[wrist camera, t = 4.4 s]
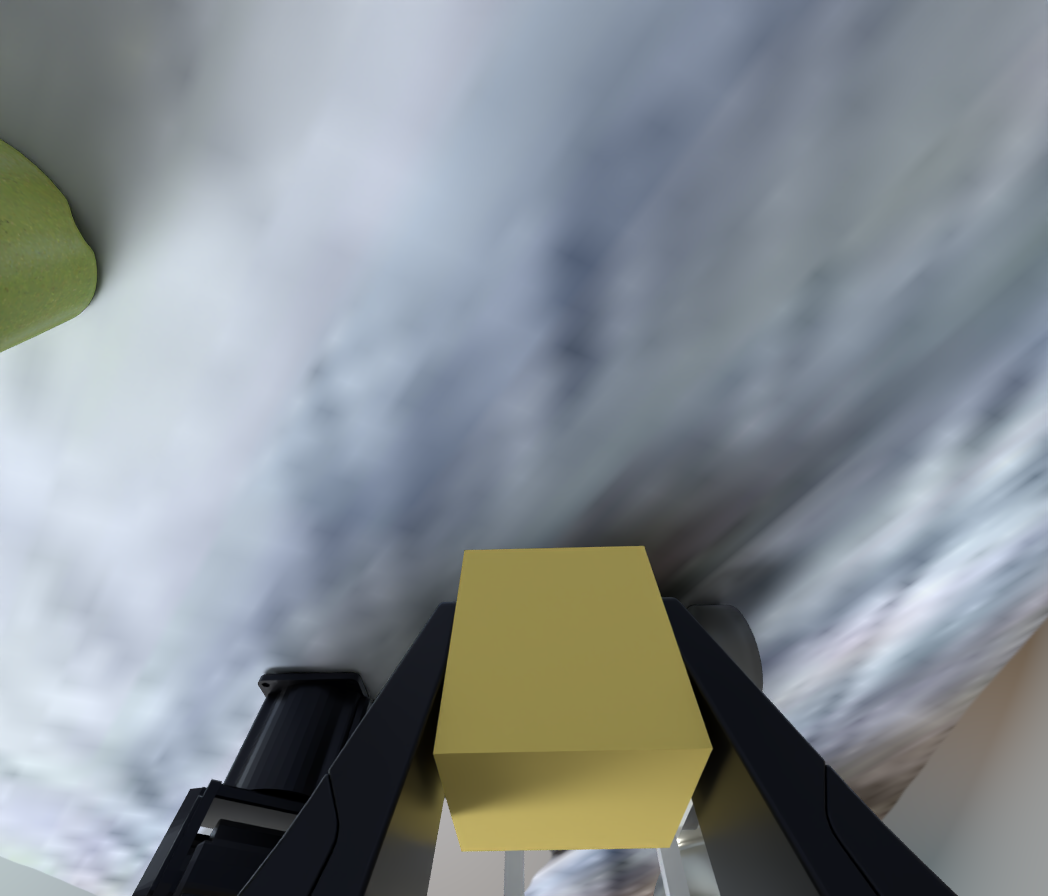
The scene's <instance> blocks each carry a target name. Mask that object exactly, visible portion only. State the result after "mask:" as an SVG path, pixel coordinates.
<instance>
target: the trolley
mask: <svg viewBox="0 0 1048 896" xmlns="http://www.w3.org/2000/svg"><path fill="white" fill-rule="evenodd" d="M687 610H688V611H689V613H690V614H691V615H692V616H693V617H694V618H695V619H696V620H697V621H698V622H699V623H700V625H701V626H702V627H703V628H704V629H705V630H706V631H707V632H708V633H709V634H710V635H711V637H712V638H713V639H714V640H715V641H716V642H717V643H718V644H719V645H720V646H721V648H722V649H723V650H724V651H725V652H726V653H727V654H728V655H729V656H730V657H731V658H732V660H733V661H734V662H735V663H736V664H737V665H738V666H739V667H740V668H741V669H742V670H743V672H744V673H745V674H746V675H747V676H748V677H749V678H750V679H751V680H752V681H753V683H754V684H755V685H756V686H757V687H758V688H759V689H760V690H761V691H762V689H763V674H762V666H761V660H760V655H759V651H758V648H757V644H756V641H755V638H754V636H753V633H752V631H751V629H750V627H749V625H748V623H747V621H746V619H745V618H744V616H743V615H742V614H741V613H740V611H739V610H738V609H736V608H735V607H734V606H731V605H704V606H690V607H688V609H687ZM698 824H699V823H698V819H697V816H696V812H695V809H694V806H693V802H692V799H690V802H689V804H688V806H687V809H686V811H685V813H684V816H683V818H682V820H681V822H680V825H679V827H678V829H677V832H676V834H675V836H674V839H673V841H672V843H671V845H670V848H656V850H657V855H658V859H659V864H660V869H661V874H662V879H663V884H664V889H665V894H666V896H690V893H689V889H688V884H687V880H686V876H685V872H684V868H683V863H682V859H681V855H680V851H679V847H678V842H677V838H678V836H679V834H680V832H681V830H696V829H697V828H698ZM504 875H505V876H504V896H524V850H518V851H505V874H504Z"/></svg>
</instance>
